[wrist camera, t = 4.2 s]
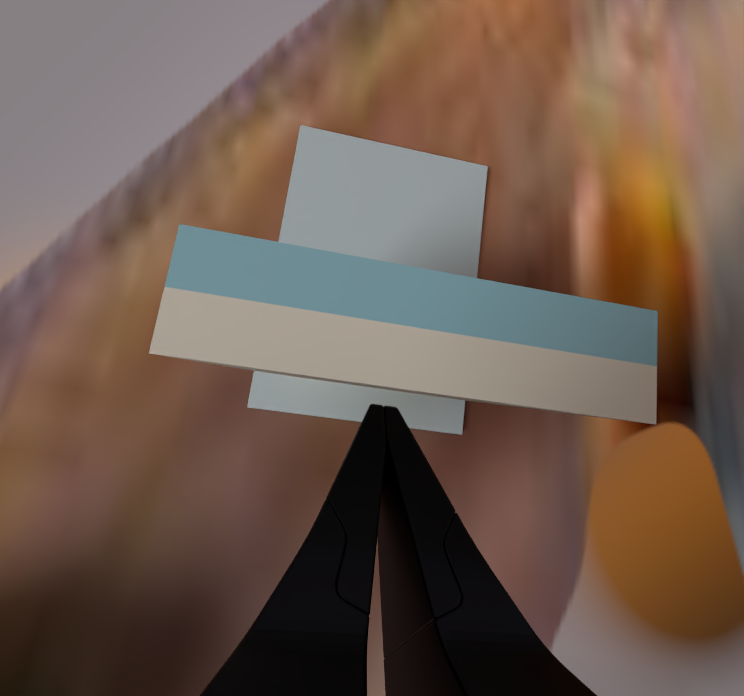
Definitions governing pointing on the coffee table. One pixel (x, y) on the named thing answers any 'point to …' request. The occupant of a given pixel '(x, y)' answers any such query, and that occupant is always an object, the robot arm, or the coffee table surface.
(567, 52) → the coffee table surface
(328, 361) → the tile
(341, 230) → the mat
